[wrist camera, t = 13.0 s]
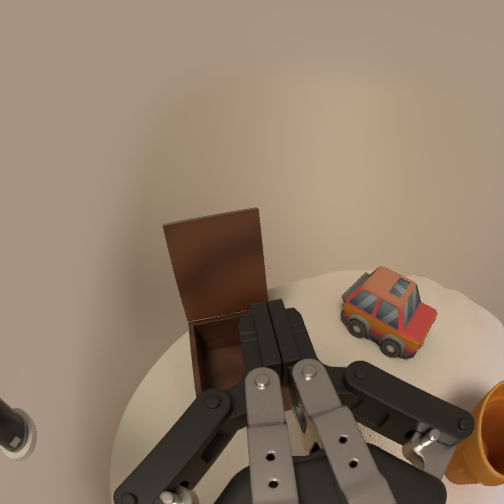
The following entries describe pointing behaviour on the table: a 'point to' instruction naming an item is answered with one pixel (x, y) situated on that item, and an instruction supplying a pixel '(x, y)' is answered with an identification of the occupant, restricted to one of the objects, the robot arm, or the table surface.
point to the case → (220, 354)
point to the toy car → (388, 312)
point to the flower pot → (482, 444)
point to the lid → (218, 262)
